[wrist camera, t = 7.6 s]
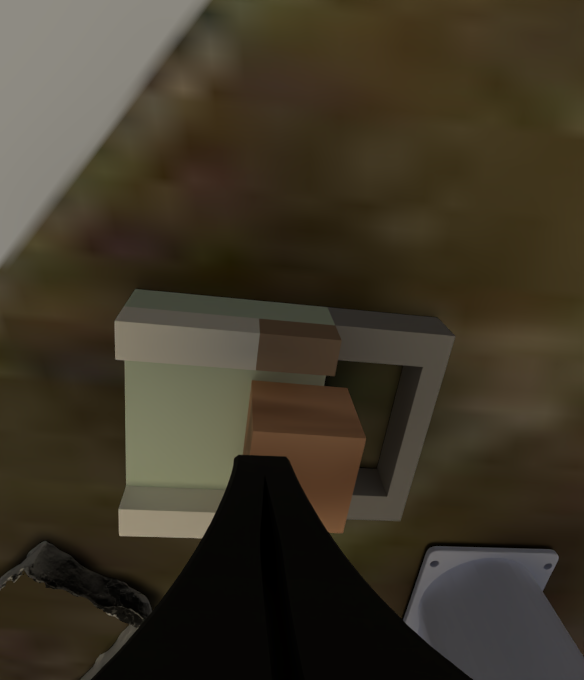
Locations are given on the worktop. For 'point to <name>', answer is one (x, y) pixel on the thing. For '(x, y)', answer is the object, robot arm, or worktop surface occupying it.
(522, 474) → the worktop surface
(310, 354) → the board
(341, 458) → the block
